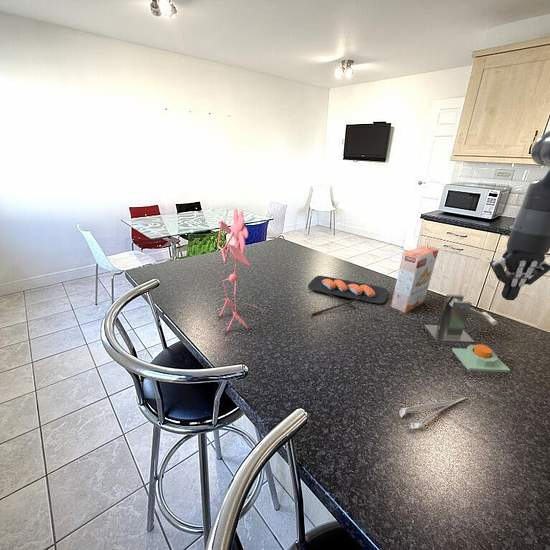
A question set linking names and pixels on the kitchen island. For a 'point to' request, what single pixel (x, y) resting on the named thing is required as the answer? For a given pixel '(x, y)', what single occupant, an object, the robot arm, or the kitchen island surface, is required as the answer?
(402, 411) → the tweezers
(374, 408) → the kitchen island surface
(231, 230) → the figurine
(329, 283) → the sushi plate
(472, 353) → the button block
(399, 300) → the cracker box
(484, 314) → the lever
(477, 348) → the button
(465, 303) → the bracket
